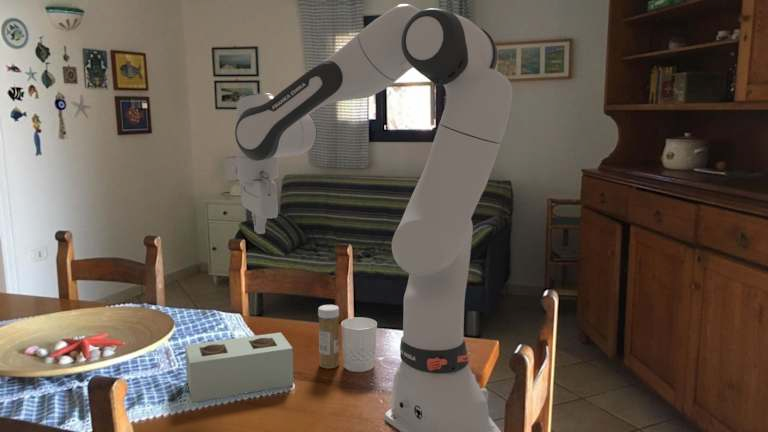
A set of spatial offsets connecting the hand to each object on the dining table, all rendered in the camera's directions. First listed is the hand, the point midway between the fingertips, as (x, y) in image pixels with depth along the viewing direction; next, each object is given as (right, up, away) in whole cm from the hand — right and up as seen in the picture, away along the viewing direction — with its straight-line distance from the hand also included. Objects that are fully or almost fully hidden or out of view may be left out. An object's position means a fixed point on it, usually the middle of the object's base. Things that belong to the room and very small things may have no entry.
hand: (259, 232), depth 133 cm
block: (-2, -31, -8) cm, 32 cm away
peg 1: (-7, -31, -10) cm, 33 cm away
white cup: (+22, -30, +1) cm, 37 cm away
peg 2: (+2, -30, -6) cm, 31 cm away
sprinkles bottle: (+15, -30, +2) cm, 33 cm away
